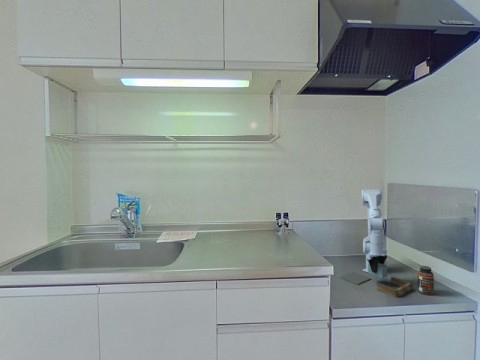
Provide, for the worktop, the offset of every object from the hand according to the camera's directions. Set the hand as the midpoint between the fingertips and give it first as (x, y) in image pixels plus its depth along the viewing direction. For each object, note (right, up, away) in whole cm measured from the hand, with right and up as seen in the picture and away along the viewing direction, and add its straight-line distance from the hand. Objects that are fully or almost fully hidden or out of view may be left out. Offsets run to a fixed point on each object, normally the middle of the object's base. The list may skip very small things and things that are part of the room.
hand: (376, 271), depth 128 cm
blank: (0, -2, 0) cm, 2 cm away
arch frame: (+4, -6, -6) cm, 10 cm away
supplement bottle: (+16, -6, -10) cm, 20 cm away
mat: (-7, -6, +7) cm, 12 cm away
